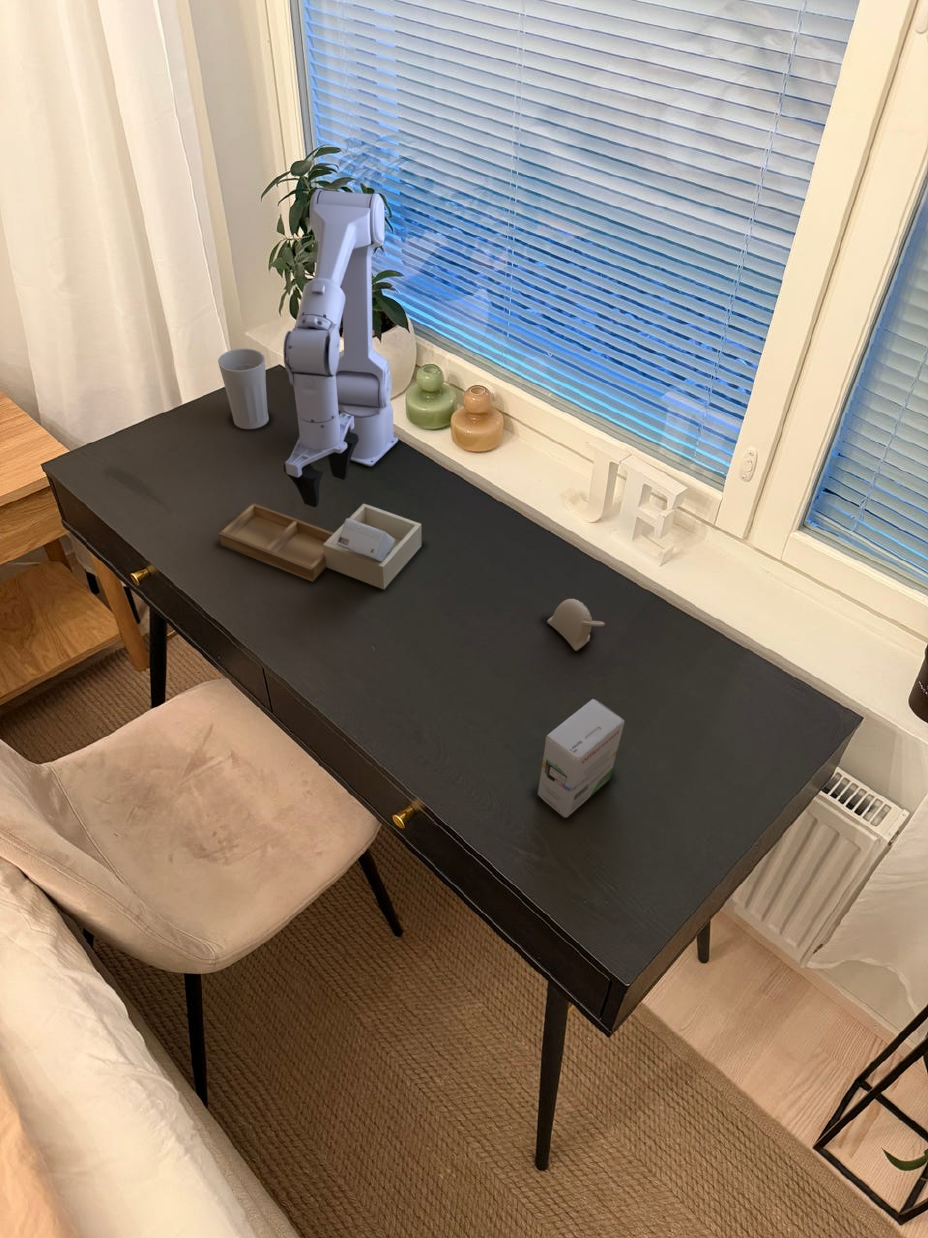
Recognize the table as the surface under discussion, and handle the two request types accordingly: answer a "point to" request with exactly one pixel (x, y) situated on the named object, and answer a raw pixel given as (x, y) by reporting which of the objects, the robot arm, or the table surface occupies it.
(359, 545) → the cosmetic box
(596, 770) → the ink box
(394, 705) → the table surface
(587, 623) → the decorative ornament
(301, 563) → the tray
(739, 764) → the table surface
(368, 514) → the basin
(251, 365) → the cup
